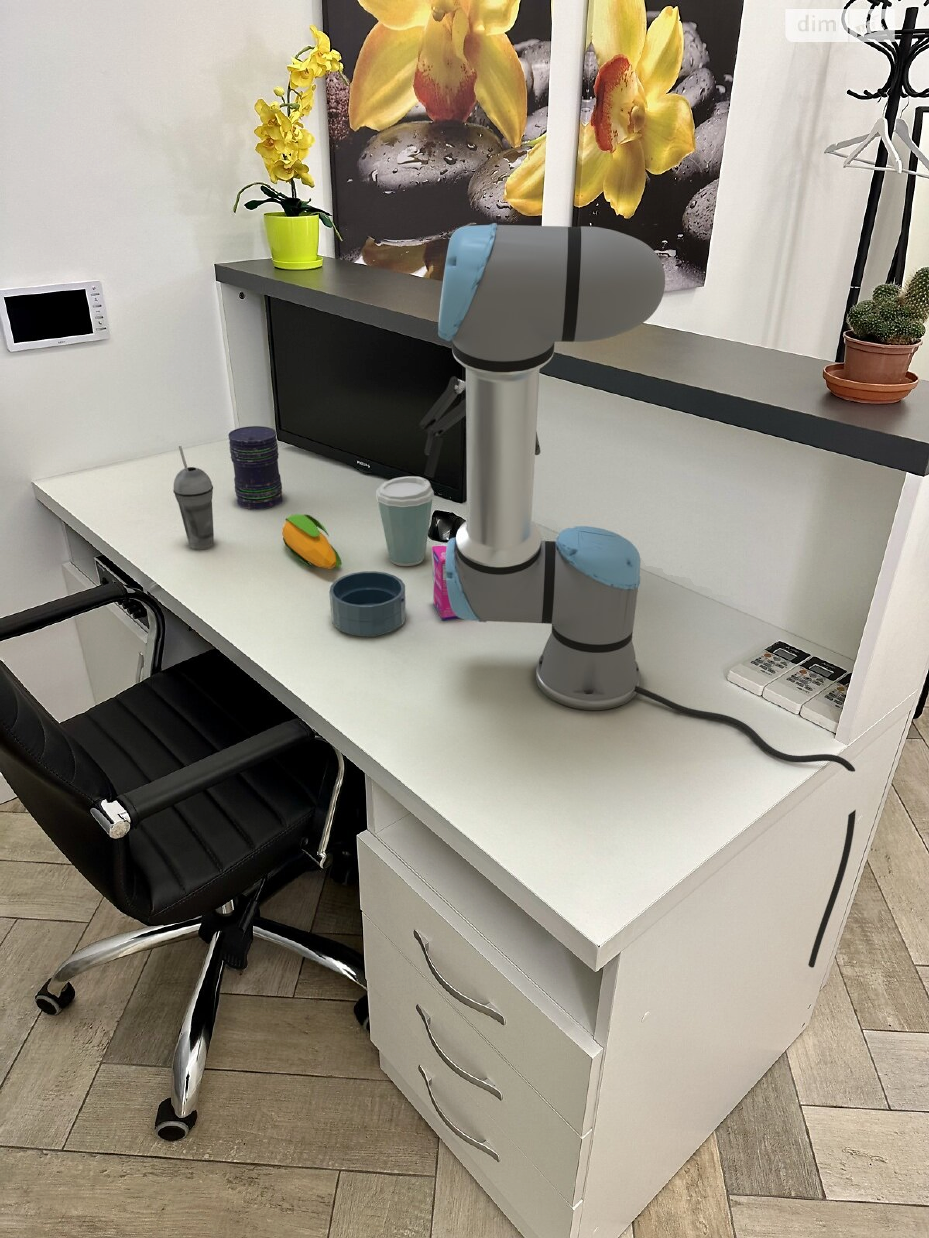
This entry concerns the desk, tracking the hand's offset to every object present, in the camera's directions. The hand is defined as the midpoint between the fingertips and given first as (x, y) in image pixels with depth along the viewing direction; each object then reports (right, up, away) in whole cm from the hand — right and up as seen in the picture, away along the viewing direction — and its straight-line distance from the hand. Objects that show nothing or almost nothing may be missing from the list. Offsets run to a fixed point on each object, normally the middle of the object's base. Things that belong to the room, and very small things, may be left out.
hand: (467, 485), depth 144 cm
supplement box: (-2, -20, +7) cm, 22 cm away
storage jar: (-44, +4, +47) cm, 65 cm away
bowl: (-16, -22, +4) cm, 28 cm away
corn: (-29, -11, +23) cm, 38 cm away
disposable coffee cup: (-11, -10, +24) cm, 28 cm away
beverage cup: (-51, -7, +28) cm, 59 cm away
